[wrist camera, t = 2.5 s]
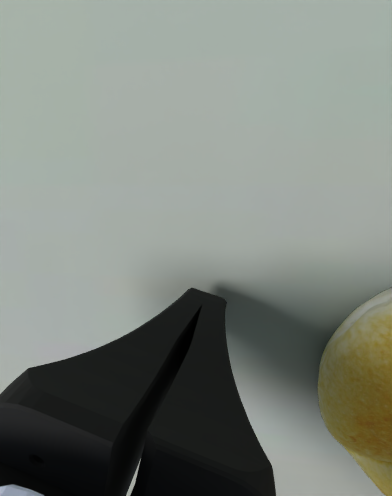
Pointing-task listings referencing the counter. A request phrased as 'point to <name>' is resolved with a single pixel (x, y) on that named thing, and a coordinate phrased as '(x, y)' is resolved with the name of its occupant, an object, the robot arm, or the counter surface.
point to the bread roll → (361, 388)
